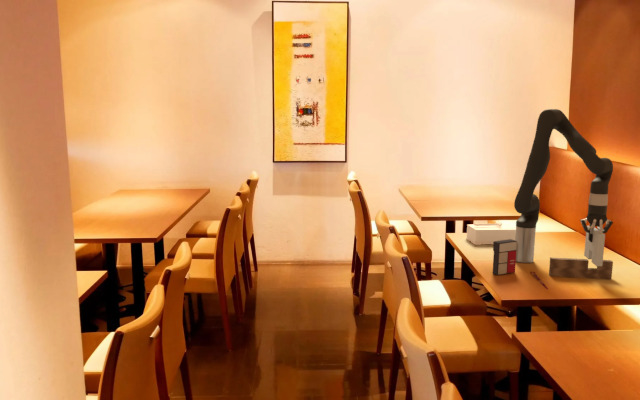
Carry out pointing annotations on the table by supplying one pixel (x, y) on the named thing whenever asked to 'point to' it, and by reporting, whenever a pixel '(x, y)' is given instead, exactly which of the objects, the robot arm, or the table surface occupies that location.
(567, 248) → the table surface
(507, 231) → the tissue box
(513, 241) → the grey red box
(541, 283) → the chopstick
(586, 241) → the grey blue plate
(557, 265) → the walnut board
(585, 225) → the robot arm
